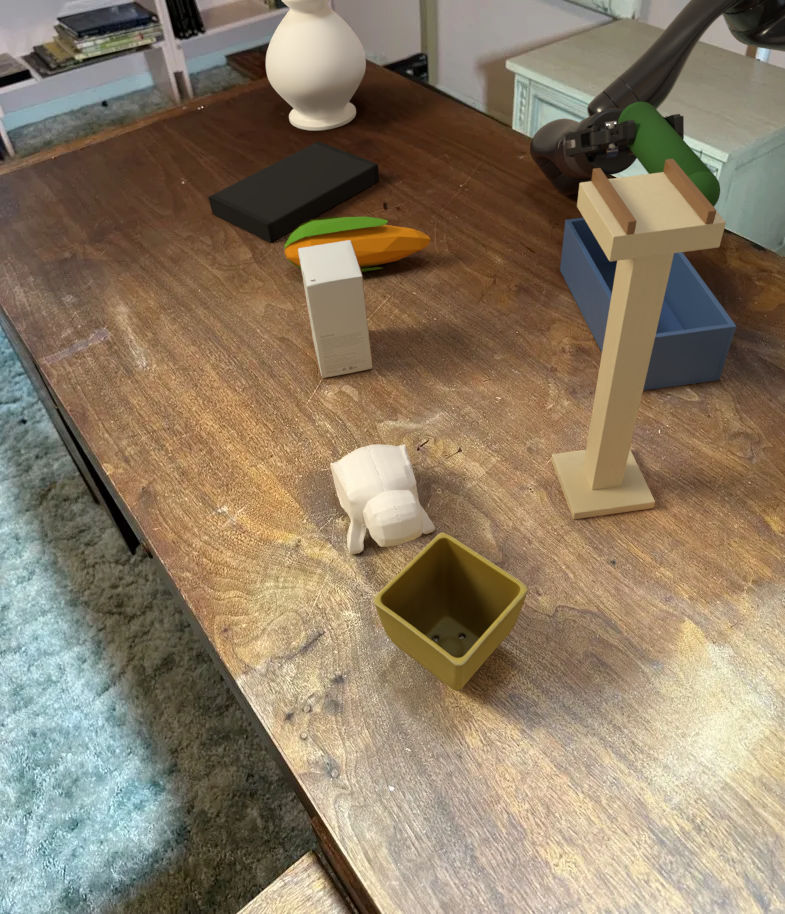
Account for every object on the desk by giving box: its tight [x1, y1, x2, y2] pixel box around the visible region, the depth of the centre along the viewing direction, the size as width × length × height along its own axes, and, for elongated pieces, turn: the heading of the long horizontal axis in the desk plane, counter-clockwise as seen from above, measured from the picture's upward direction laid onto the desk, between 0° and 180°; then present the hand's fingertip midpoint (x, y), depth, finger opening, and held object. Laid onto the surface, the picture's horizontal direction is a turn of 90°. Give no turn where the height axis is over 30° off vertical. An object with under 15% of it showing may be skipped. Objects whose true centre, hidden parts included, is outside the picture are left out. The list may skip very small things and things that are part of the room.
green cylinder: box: [618, 102, 721, 208], centre depth 79 cm, size 20×4×4 cm, turn 7°
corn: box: [283, 216, 431, 273], centre depth 104 cm, size 7×8×20 cm
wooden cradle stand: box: [550, 159, 727, 520], centre depth 66 cm, size 8×9×31 cm
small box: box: [298, 240, 374, 379], centre depth 89 cm, size 8×6×13 cm
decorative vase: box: [265, 0, 367, 131], centre depth 133 cm, size 18×18×25 cm
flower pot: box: [373, 531, 529, 692], centre depth 62 cm, size 9×9×9 cm
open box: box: [559, 217, 737, 392], centre depth 92 cm, size 11×25×8 cm, turn 7°
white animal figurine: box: [330, 443, 436, 555], centre depth 72 cm, size 9×8×15 cm
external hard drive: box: [207, 140, 380, 244], centre depth 121 cm, size 14×23×3 cm, turn 137°
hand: (654, 127), depth 81 cm, fingers closed on green cylinder, 4 cm apart
